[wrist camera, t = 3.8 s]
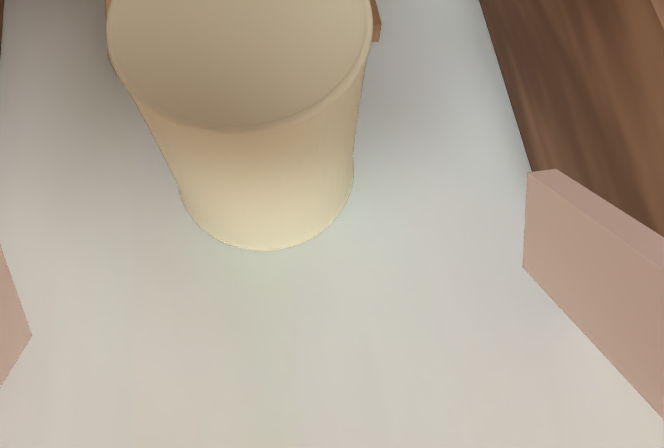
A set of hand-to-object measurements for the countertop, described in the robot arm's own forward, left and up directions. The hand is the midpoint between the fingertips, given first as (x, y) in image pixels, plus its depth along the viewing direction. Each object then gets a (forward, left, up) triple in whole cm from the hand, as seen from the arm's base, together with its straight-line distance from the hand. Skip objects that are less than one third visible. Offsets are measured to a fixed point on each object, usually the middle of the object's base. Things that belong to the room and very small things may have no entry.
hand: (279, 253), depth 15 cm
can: (-4, +9, -14) cm, 17 cm away
